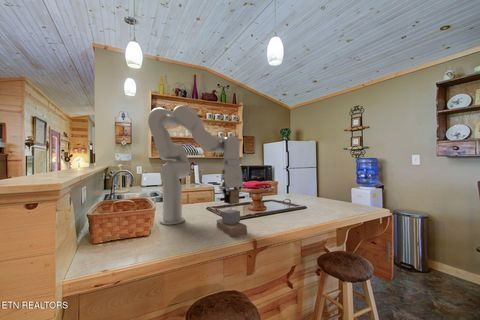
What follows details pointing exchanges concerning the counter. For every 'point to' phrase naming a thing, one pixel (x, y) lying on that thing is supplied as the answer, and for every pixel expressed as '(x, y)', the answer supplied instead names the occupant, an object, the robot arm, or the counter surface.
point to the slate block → (230, 216)
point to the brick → (232, 228)
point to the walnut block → (233, 196)
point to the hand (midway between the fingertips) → (231, 201)
